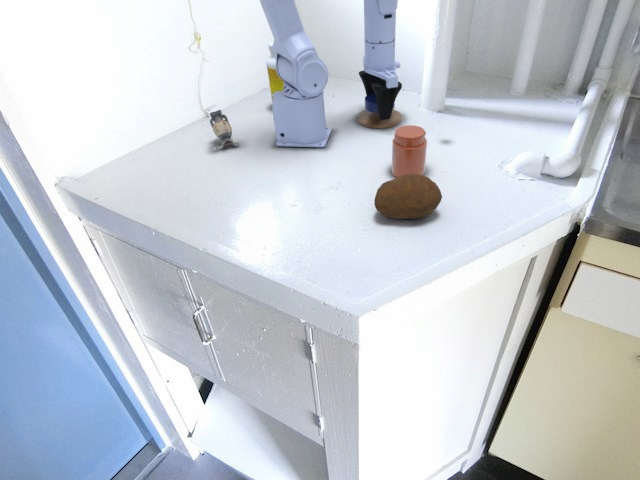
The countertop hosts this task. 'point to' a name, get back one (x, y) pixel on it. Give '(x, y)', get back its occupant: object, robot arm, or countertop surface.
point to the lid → (372, 103)
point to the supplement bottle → (273, 73)
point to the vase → (222, 129)
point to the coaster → (378, 120)
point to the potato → (408, 197)
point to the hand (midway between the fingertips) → (379, 113)
